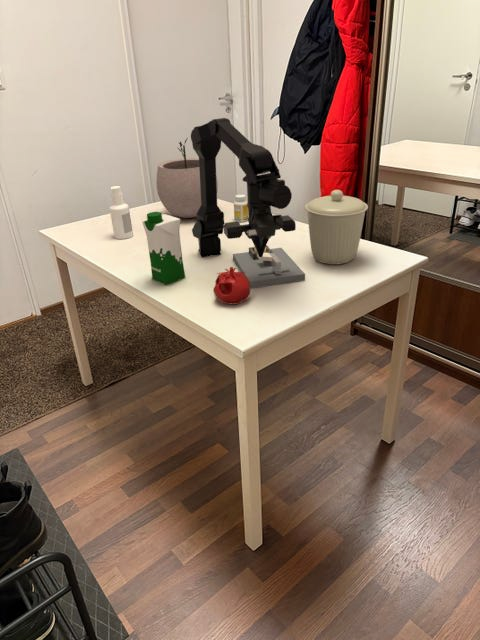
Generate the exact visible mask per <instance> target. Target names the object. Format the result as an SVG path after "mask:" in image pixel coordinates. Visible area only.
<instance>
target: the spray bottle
mask: <svg viewBox="0 0 480 640" xmlns="http://www.w3.org/2000/svg"><path fill="white" fill-rule="evenodd" d="M110 191H111V195H110V196H111V202H112V204H111V205H110V206H109V214H110V218H111V219H110V220H111V226H112V229H113V235H114V238H115V239H117V240H126V239H130V238H131V237H133V236H134V231H133V224H132V219H131V213H130V207H129V204H127V203H125V201H124V200H125V199H124V195H123V191H122V187H121V186H120V185H116V186H115V185H114V186H111V187H110Z"/></svg>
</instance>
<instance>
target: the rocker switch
mask: <svg viewBox="0 0 480 640" xmlns="http://www.w3.org/2000/svg"><path fill="white" fill-rule="evenodd" d="M257 257H258V258H259V259H260V260H263V261H272V257H277V256H276V255H275V254H274V253H263V256H262V257H259V256H258V254H257Z"/></svg>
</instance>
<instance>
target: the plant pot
mask: <svg viewBox="0 0 480 640" xmlns="http://www.w3.org/2000/svg"><path fill="white" fill-rule="evenodd" d="M188 138H189V137H186V139H185V140H184V145H183V144H182V141H179V142H178V144H179V147H177V149H178V150H179V152H181V155H182V157H181V158H175V159H168V160H164V161H162V162H160V163H158V165H157V170H156V171H157V172H156V191H157V195H158V198H159V200H160V202H161V204H162V206H163V207H164V208H165V209H166V210H167V211H168V212H169V213H170V214H171V215H173V216H176V217H177V218H178V217H179V218H185V219H191V218H197V212H198V210H199V208H200V206H201V188H200V168H199V157H187V155H186V142H187V141H188ZM216 181H217V191H218V190H219V188H218V187H219V185H218V184H219V183H218V176H217V175H216Z"/></svg>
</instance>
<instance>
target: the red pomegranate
mask: <svg viewBox="0 0 480 640" xmlns="http://www.w3.org/2000/svg"><path fill="white" fill-rule="evenodd" d="M236 269H238V268H236V267H233V266H230V267H229V269H227V268H225V269H224V272H223V271H222V272H217V273H216V274H218V276H217V277H216V279H215V286H214V287H213V293H214V296H215V297H216V299H217V300H218V301H220V302H221V303H224V304H227V305H230V304H231V305H234V304H235V305H238V304H241V302H243V301H246V300H247V299H248V298H249V297H250V295H251V288H250V285H249V280H248V278H247V277H246V276H245V274H243V273H246V272H240V271H235V270H236Z"/></svg>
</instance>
